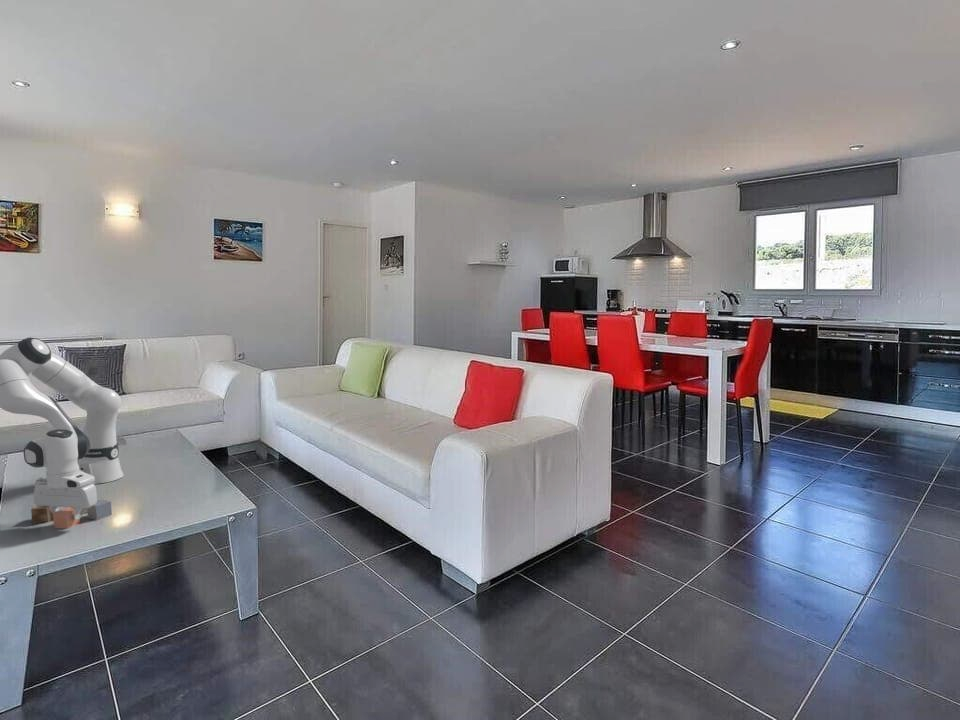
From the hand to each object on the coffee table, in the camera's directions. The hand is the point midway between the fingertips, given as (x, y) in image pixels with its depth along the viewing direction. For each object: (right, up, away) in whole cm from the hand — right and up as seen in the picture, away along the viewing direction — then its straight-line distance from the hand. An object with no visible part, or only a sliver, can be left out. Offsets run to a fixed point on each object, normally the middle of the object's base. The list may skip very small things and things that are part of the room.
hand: (66, 518), depth 185 cm
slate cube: (+6, -1, +8) cm, 10 cm away
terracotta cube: (0, -2, 0) cm, 2 cm away
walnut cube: (-11, -2, +4) cm, 12 cm away
